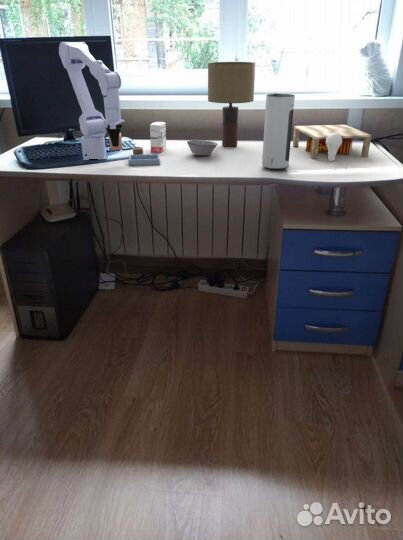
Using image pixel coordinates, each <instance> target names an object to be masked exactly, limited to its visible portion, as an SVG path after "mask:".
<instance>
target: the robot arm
mask: <svg viewBox="0 0 403 540" xmlns="http://www.w3.org/2000/svg"><path fill="white" fill-rule="evenodd" d="M58 55H59V58H60V60H61V63H62V66H63V68H64V69H66V71H67V73H68V77H69V79H70V82H71V84H72V88H73V91H74V93H75V95H76V98H77V99H76V100H77V101H78V104H79V107H80V109H81V112H82V113H81V115H79V118H78V123H79V128H80V132H81V133H82V135H83V136H81V137H80V145H81V151H82V152H81V153H82V158H83V159H82V160H83V161H90V160H89V159H98V160H107V159H108V156H107V157H106V154H107V151H106V142H105V141H106V140H105V136H106V133H108V134H107V135H108V137H109V136H110V139H111V143H112V146H113V147H118V145H119V134H120V132H121V130H122V126H123V123H125V119H122V114H121V101H120V91H119V89H120V88H121V86H122V79H121V75H120V74H119V73H118V71H111V70H110V68H108V67H107V66H106V65H105V64H104V62H103V61H102V60H100V59H97V60H96V58H95V57H94V55H92V54H91V53H90V50H89V45H87V44H86V42H85V41H77V42H75V41H73V42H71V41H60V43H59V46H58ZM86 66H87V67H88V68H89V72H90V74H91V75H92V77H94V78H95V79H96V80H97V81H98V85H99V88H100V91H101V95H102V96H103V106H104V115H103V113H102V112H100V111H99V110H97V109H96V108H95V105H94V102H93V100H92V97H91V94H90V92H89V87H88V86H87V82H86V80H85V78H84V75H83V73H82V69H84V68H85V67H86ZM104 116H105V118H104ZM86 154H87V156H85V155H86Z"/></svg>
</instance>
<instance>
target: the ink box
mask: <svg viewBox="0 0 403 540" xmlns="http://www.w3.org/2000/svg"><path fill="white" fill-rule="evenodd" d="M149 133H150V134H149V135H150V136H149V137H150V153H152V154H153V153H154V154H162V153H163V152H165V150H167V137H166V136H167V135H166V133H167V129H166V122H164V121H155V122H152V123H150V125H149Z"/></svg>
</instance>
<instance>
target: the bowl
mask: <svg viewBox="0 0 403 540" xmlns="http://www.w3.org/2000/svg"><path fill="white" fill-rule="evenodd" d="M186 143H187V145H188V147H189V149H190V152H191V153H192V154H193V155H197V156H210V155H211V154H212V153H213V152H214V150H215V149H216V147H217V146H218V145H219V144H218V143H217V142H215V141H211V140H204V139H200V140H199V139H191V140H187V141H186Z"/></svg>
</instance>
